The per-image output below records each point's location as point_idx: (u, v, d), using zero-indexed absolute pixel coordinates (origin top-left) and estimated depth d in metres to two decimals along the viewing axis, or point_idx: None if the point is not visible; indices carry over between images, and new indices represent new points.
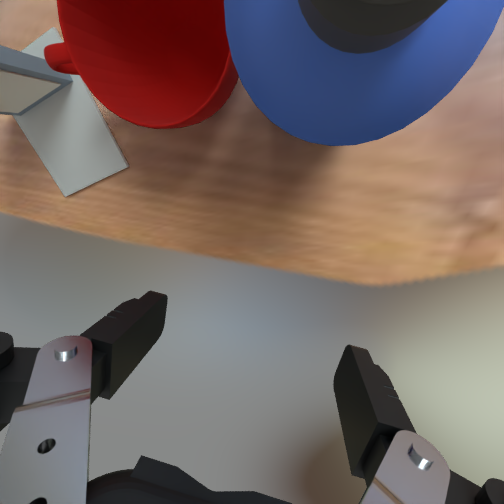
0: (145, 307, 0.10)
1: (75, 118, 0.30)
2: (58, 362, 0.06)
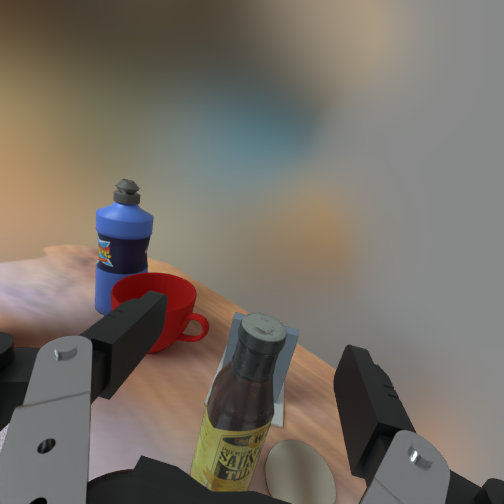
0: (145, 307, 0.10)
1: None
2: (58, 362, 0.06)
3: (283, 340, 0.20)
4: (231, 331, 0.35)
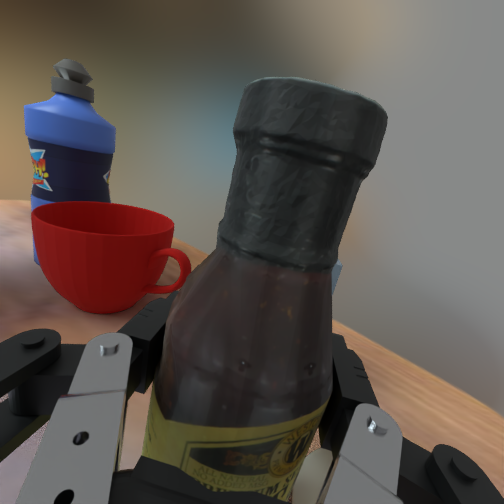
0: None
1: None
2: (105, 357, 0.07)
3: (385, 121, 0.06)
4: None
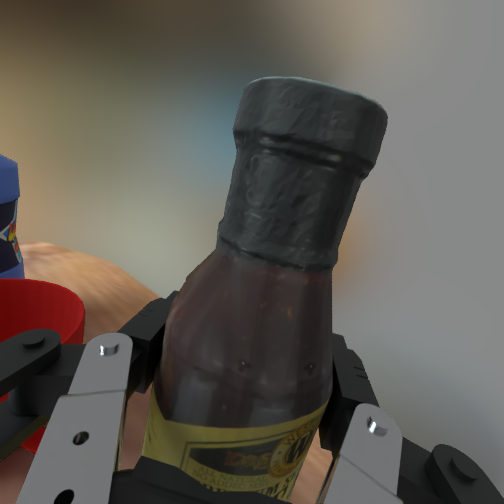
0: None
1: None
2: (105, 357, 0.07)
3: (385, 120, 0.06)
4: None
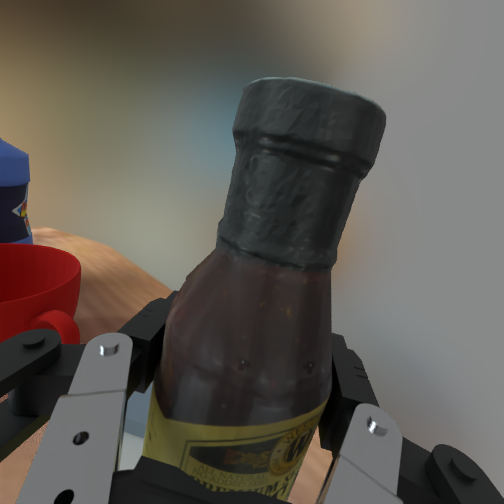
0: None
1: None
2: (105, 357, 0.07)
3: (383, 121, 0.06)
4: None
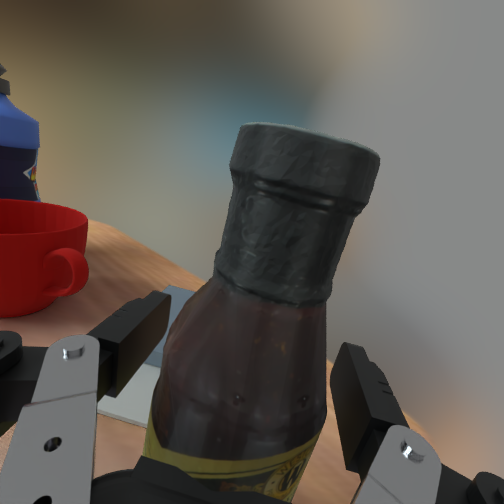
0: (150, 307, 0.10)
1: None
2: (66, 361, 0.07)
3: (377, 163, 0.06)
4: (163, 292, 0.33)
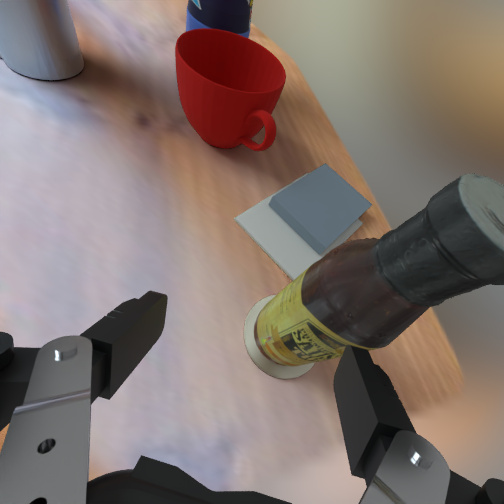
0: (145, 307, 0.10)
1: None
2: (58, 362, 0.06)
3: None
4: (318, 169, 0.36)
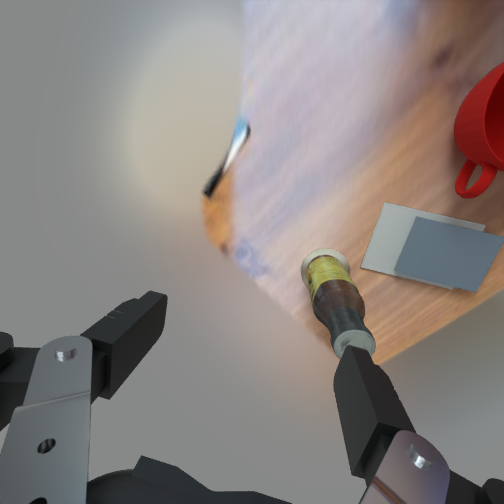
0: (145, 307, 0.10)
1: None
2: (58, 362, 0.06)
3: (338, 357, 0.26)
4: (490, 235, 0.37)
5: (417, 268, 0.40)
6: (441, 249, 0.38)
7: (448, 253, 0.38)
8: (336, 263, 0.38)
